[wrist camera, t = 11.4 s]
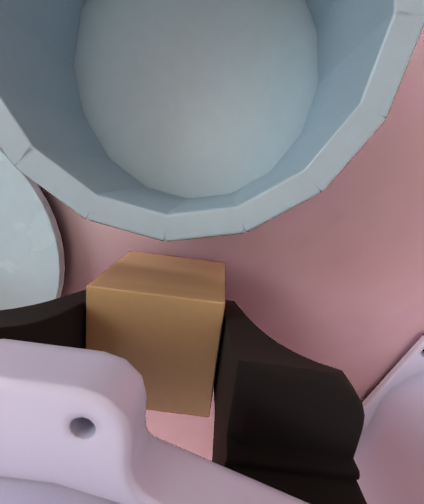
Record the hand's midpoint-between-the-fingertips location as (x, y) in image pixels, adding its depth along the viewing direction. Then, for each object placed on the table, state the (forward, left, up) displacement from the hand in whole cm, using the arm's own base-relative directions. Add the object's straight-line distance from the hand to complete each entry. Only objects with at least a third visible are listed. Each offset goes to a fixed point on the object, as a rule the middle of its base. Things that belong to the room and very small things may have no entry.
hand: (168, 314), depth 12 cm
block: (0, 0, -1) cm, 1 cm away
